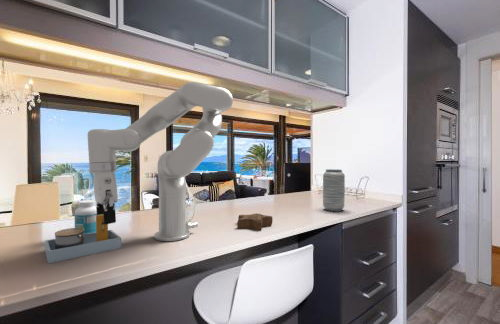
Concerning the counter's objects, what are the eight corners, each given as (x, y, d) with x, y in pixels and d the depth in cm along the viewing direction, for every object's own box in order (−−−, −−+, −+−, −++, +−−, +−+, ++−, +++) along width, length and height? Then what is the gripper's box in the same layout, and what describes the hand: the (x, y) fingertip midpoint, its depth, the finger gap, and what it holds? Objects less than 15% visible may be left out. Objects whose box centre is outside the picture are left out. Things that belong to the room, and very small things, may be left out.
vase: (331, 212, 135) (331, 170, 135) (318, 208, 146) (319, 169, 146) (349, 211, 139) (349, 169, 139) (335, 207, 150) (335, 169, 150)
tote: (111, 240, 88) (111, 229, 88) (121, 249, 79) (121, 237, 79) (45, 252, 76) (45, 240, 76) (48, 265, 67) (48, 251, 67)
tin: (82, 246, 80) (82, 226, 80) (86, 252, 75) (86, 231, 75) (53, 251, 76) (53, 230, 75) (56, 258, 70) (56, 236, 70)
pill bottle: (70, 239, 88) (70, 201, 88) (93, 234, 94) (93, 198, 94) (80, 243, 84) (80, 203, 84) (103, 238, 90) (103, 200, 90)
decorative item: (278, 217, 106) (250, 217, 97) (277, 231, 106) (248, 233, 97) (255, 211, 119) (228, 211, 110) (254, 224, 118) (227, 225, 109)
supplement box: (107, 243, 84) (107, 213, 84) (108, 246, 81) (108, 215, 81) (96, 244, 82) (96, 214, 82) (96, 247, 79) (96, 216, 79)
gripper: (123, 167, 77) (126, 223, 78) (109, 166, 90) (112, 214, 90) (95, 169, 72) (98, 228, 73) (84, 168, 85) (87, 218, 85)
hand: (106, 220), depth 81 cm, fingers open, 9 cm apart
